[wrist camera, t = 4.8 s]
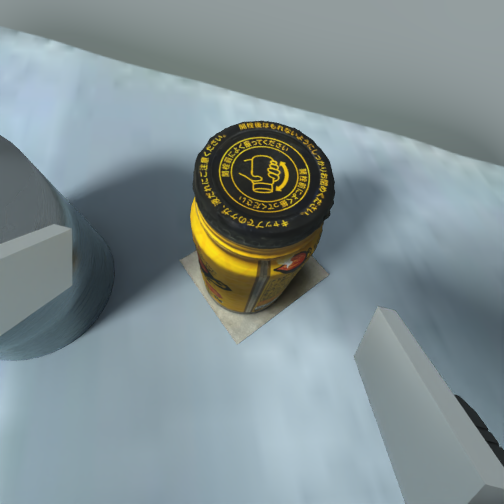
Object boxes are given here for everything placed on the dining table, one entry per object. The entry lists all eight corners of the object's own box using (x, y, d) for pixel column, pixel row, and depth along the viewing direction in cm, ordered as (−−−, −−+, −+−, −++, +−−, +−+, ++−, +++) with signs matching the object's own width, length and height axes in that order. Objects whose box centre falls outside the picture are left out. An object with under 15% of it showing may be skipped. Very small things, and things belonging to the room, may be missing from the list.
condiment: (179, 261, 21) (130, 144, 10) (269, 206, 23) (311, 63, 12) (236, 345, 19) (256, 317, 8) (327, 276, 22) (438, 181, 11)
